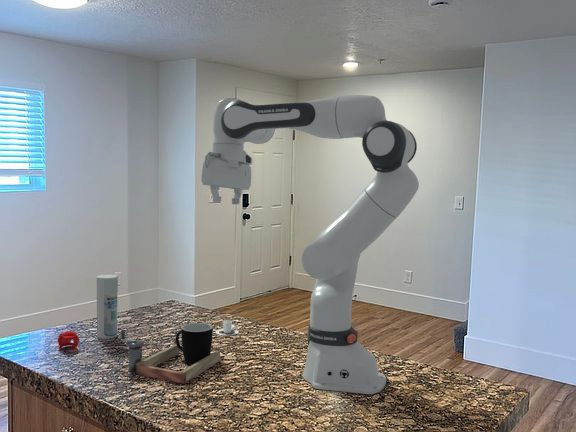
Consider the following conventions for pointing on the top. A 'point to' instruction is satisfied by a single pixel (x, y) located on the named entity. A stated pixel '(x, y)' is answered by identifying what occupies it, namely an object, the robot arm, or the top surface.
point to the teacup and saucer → (227, 328)
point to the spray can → (107, 306)
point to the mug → (195, 341)
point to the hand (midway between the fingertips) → (226, 203)
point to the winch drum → (133, 351)
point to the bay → (149, 369)
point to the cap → (68, 339)
